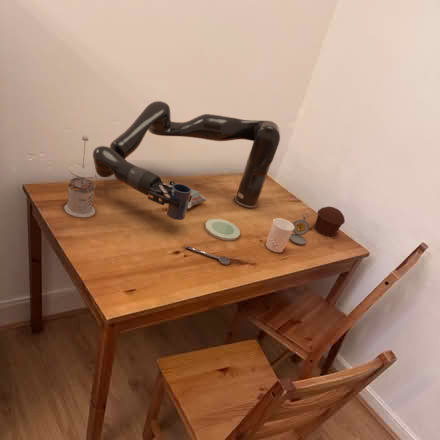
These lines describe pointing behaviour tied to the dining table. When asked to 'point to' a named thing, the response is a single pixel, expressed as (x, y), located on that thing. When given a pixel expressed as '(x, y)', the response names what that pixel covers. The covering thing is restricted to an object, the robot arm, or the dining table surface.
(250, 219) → the dining table surface
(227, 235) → the side plate
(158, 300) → the dining table surface
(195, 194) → the packaged food
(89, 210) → the french press
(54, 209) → the dining table surface
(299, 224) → the pocket watch
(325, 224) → the muffin
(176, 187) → the tumbler
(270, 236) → the white cup
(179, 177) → the dining table surface
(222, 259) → the spoon
